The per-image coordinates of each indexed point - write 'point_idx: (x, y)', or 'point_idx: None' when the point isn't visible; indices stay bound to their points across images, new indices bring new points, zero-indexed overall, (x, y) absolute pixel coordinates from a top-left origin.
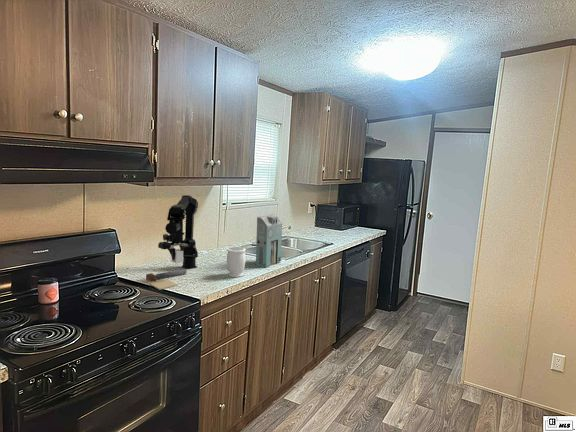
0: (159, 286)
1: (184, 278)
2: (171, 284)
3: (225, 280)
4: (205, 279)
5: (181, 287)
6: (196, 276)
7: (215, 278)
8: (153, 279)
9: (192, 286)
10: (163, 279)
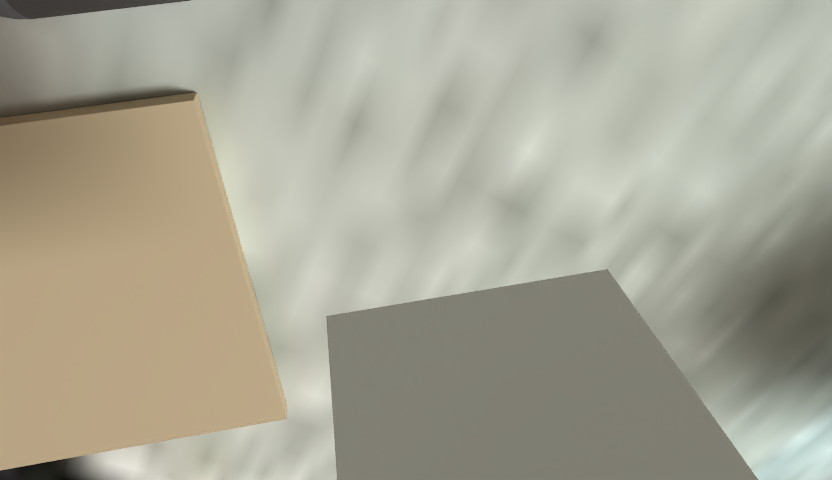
0: (4, 407)
1: (520, 157)
2: (202, 390)
3: (828, 419)
4: (712, 319)
5: (305, 460)
6: (729, 148)
7: (823, 330)
8: None
9: None
10: (125, 113)
